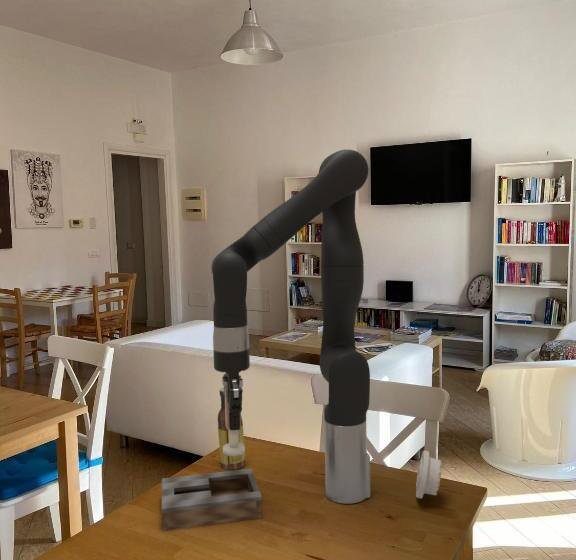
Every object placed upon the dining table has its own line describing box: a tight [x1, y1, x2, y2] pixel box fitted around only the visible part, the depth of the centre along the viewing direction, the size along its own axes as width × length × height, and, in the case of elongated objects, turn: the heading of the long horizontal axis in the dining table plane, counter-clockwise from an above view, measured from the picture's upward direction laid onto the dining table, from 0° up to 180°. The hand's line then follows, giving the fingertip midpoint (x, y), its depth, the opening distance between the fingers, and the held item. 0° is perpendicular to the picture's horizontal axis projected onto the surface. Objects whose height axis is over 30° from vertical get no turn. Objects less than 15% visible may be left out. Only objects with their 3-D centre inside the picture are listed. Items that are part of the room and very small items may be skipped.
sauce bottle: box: [217, 387, 246, 471], centre depth 141 cm, size 7×6×20 cm
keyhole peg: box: [223, 399, 246, 456], centre depth 121 cm, size 5×5×12 cm
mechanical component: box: [415, 450, 442, 499], centre depth 123 cm, size 10×4×10 cm, turn 168°
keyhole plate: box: [161, 468, 263, 531], centre depth 121 cm, size 20×14×5 cm
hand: (233, 426), depth 121 cm, fingers closed on keyhole peg, 3 cm apart
